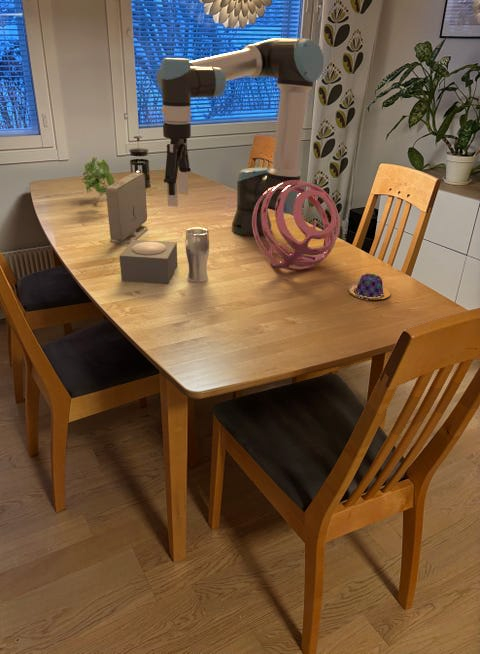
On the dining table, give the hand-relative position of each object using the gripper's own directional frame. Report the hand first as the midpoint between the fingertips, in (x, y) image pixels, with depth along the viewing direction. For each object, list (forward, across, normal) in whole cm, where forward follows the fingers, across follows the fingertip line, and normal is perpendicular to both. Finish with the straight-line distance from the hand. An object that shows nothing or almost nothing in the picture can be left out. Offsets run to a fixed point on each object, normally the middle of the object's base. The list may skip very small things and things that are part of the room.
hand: (178, 199), depth 150 cm
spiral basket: (+22, -11, +35) cm, 43 cm away
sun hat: (+22, +6, +58) cm, 62 cm away
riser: (+22, +4, -8) cm, 24 cm away
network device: (+22, -30, -26) cm, 45 cm away
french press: (+22, -100, -42) cm, 111 cm away
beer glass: (+22, +5, +7) cm, 24 cm away
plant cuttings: (+22, -67, -47) cm, 85 cm away
